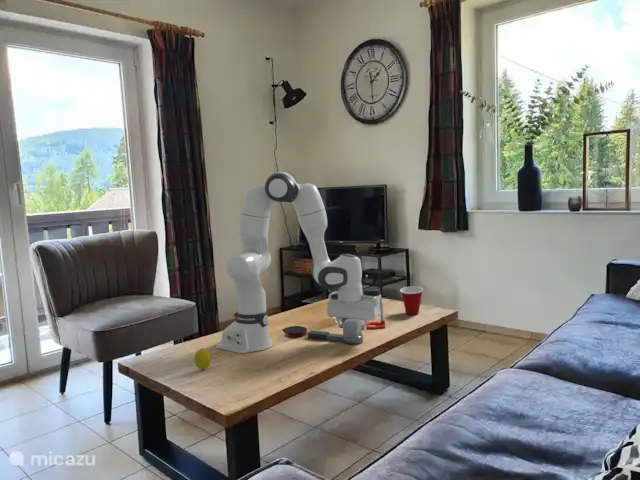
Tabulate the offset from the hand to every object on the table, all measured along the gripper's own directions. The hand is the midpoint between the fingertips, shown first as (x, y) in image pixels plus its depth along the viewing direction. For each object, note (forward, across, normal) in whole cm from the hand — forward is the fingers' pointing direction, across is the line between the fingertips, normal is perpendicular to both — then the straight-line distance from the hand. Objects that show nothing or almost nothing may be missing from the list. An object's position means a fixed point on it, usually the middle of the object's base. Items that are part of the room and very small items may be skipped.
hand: (352, 328), depth 200 cm
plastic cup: (+6, -13, -46) cm, 48 cm away
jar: (+6, +5, -41) cm, 42 cm away
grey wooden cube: (+3, 0, 0) cm, 3 cm away
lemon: (+6, +40, +44) cm, 60 cm away
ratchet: (+5, +7, 0) cm, 9 cm away
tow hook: (+6, -2, -22) cm, 23 cm away
